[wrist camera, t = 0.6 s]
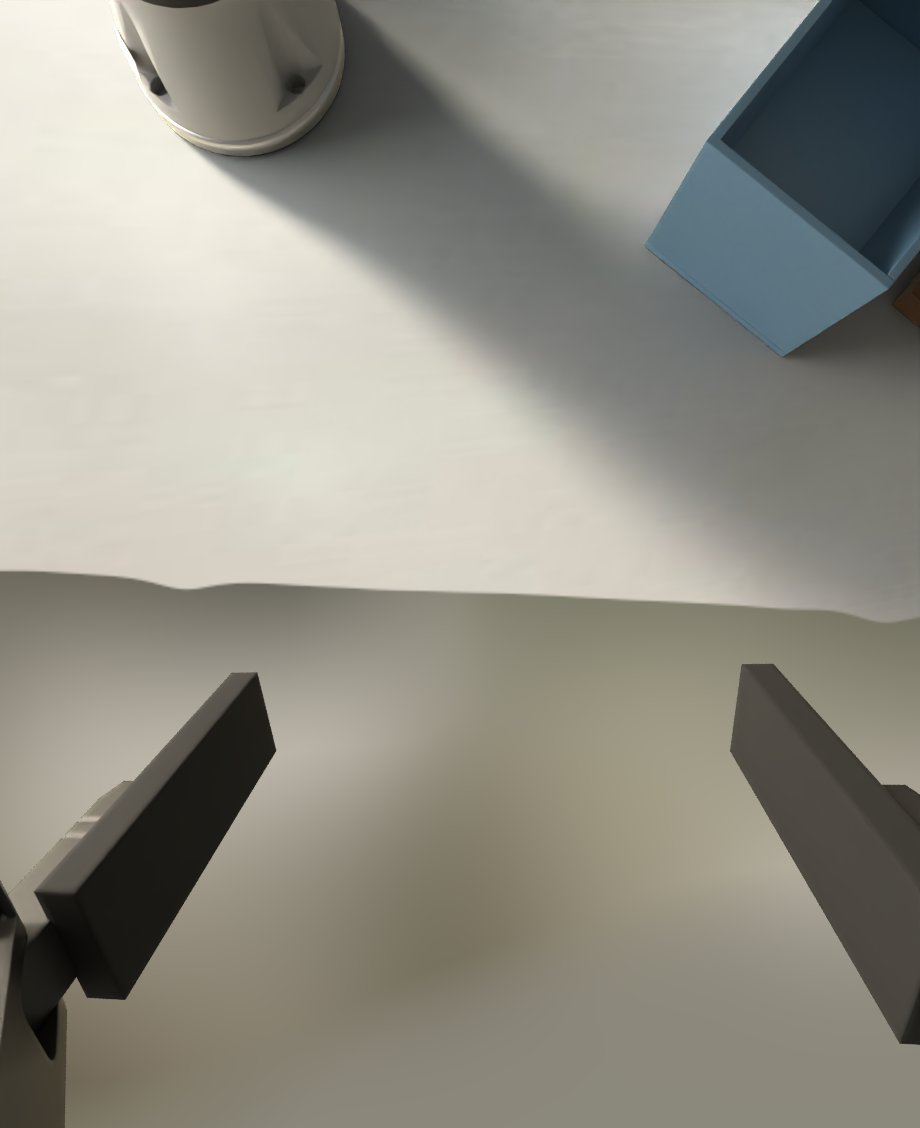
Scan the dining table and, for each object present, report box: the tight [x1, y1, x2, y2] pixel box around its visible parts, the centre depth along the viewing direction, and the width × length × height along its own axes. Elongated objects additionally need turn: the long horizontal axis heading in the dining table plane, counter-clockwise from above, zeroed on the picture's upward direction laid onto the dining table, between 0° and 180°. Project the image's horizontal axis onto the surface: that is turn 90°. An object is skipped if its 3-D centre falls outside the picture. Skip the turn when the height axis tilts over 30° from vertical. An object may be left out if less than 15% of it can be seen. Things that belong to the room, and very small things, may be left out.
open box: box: [645, 0, 920, 357], centre depth 34 cm, size 24×13×10 cm, turn 141°
